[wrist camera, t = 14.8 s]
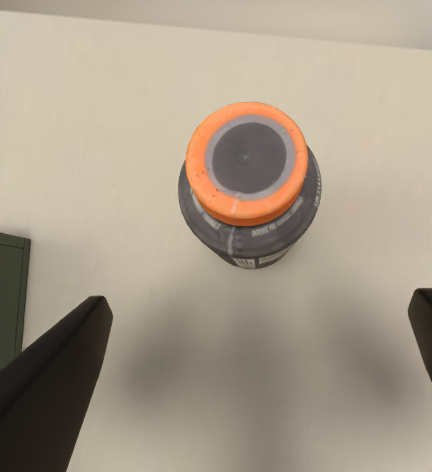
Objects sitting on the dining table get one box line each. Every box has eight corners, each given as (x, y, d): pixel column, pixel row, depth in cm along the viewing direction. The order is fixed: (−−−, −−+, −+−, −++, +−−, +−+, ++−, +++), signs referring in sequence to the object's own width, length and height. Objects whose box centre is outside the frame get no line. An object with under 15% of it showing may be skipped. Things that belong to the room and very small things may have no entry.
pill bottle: (200, 194, 22) (142, 94, 11) (284, 175, 21) (315, 48, 10) (216, 278, 20) (170, 265, 9) (305, 260, 20) (368, 223, 9)
